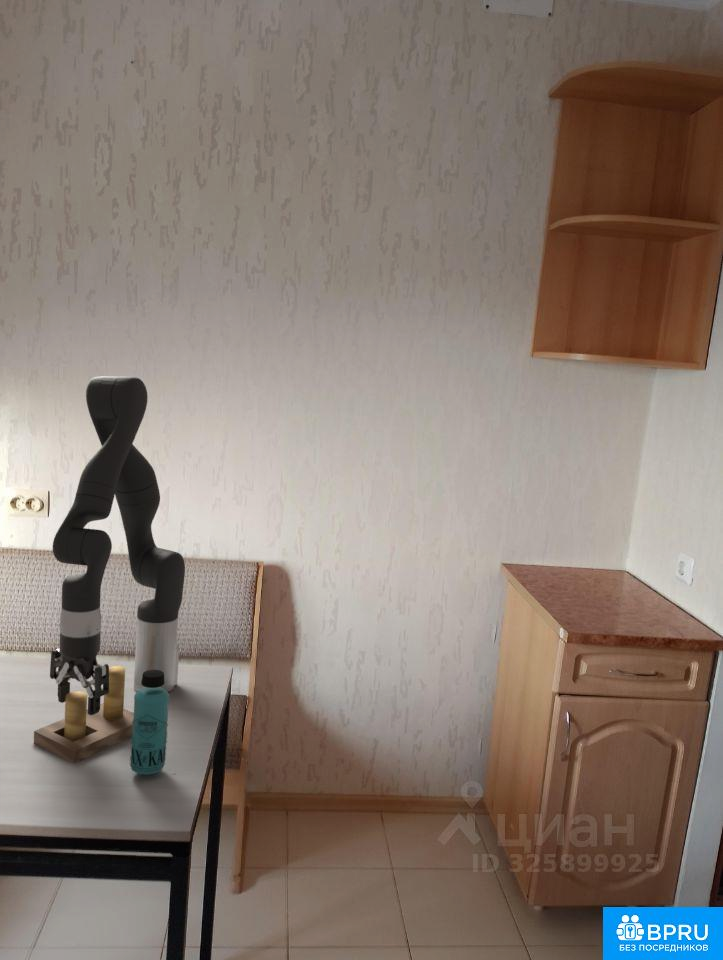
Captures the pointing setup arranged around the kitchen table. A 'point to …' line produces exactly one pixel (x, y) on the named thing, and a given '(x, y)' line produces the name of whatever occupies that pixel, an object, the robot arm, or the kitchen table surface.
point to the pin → (75, 715)
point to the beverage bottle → (149, 724)
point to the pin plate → (93, 725)
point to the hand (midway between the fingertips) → (78, 707)
